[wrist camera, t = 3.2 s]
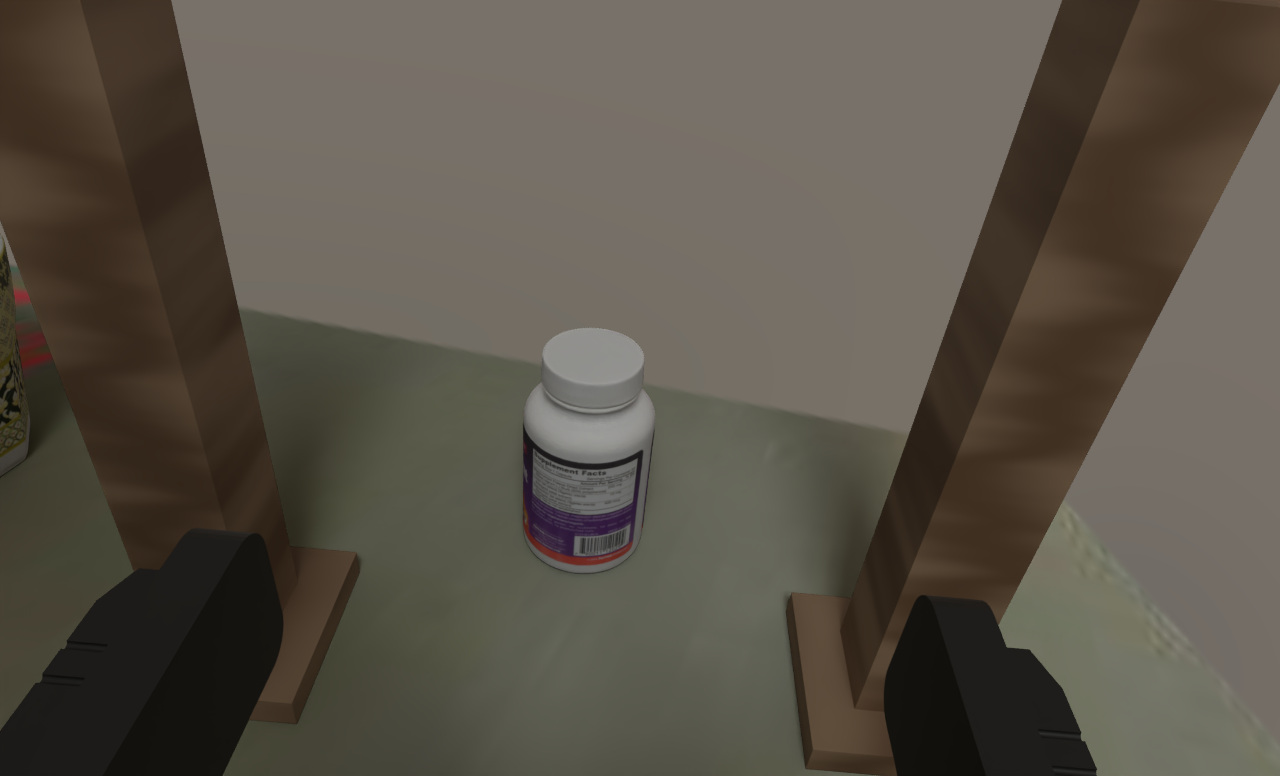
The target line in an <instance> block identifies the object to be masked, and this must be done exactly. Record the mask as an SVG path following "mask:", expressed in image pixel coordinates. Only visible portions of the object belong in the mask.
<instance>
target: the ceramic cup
mask: <svg viewBox="0 0 1280 776" xmlns="http://www.w3.org/2000/svg"><path fill="white" fill-rule="evenodd" d="M29 432H30V415H29V409H28V400H27V395H26V391H25V386H24V378H23V372H22V366H21V360H20V353H19V347H18V341H17V336H16V330H15V297H14V291H13V284H12V277H11V271H10V266H9V261H8V257H7V252H6V247H5V243H4V239H3V237H2V235H1V234H0V476H2V475H3V474H5V473H6V472H8V471H9V470H11V469H12V468H14V467H15V466H16V465H18V464H19V463H21V462H22V461H24V460H25V458H26V455H27V453H28V445H29Z"/></svg>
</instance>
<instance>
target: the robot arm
mask: <svg viewBox="0 0 1280 776" xmlns="http://www.w3.org/2000/svg"><path fill="white" fill-rule="evenodd" d="M283 625H284V621H283V613H282V608H281V604H280V600H279V596H278V592H277V588H276V584H275V580H274V576H273V572H272V568H271V564H270V560H269V555H268V551H267V547H266V544H265V541H264V539H263V537H262V536H261V535H260V534H258V533H249V532H238V531H227V530H216V529H204V528H194V529H191V530H189V531H188V532H187V533H186V534H184V535H183V537H182V538H181V539H180V540H179V542H178V543H177V545H176V546H175V548H174V549H173V551H172V552H171V554H170V555H169V556H168V558H167V559H166V561H165V562H164V564H163V565H162V567H161V568H160V570H154V569H143V568H139V569H137V570H136V571H135V572H133V573H132V574H131V575H130V576H128V577H127V578H126V579H124V580H123V581H122V582H120V583H119V584H118V585H116V586H115V587H114V588H112V589H111V590H110V591H109V592H107V593H106V594H105V595H103V596H102V597H101V598H99V599H98V600H97V601H96V602H95V603H94V605H93V606H92V607H91V609H90V610H89V611H88V613H87V614H86V615H85V617H84V618H83V620H82V621H81V622H80V624H79V625H78V626H77V628H76V629H75V630H74V632H73V633H72V634H71V636H70V637H69V639H68V640H67V646H66V648H65V649H60V651H59V652H58V653H57V655H56V656H55V657H54V659H53V660H52V662H51V663H50V664H49V666H48V667H47V668H46V670H45V671H44V672H43V674H42V675H43V677H42V680H41V682H40V683H35V685H34V686H33V687H32V689H31V690H30V691H29V693H28V694H27V695H26V697H25V698H24V699H23V701H22V702H21V704H20V705H19V706H18V708H17V709H16V710H15V712H14V713H13V714H12V716H11V717H10V718H9V720H8V721H7V723H6V724H5V725H4V727H3V728H2V729H1V731H0V776H222V775H223V773H224V771H225V769H226V767H227V765H228V763H229V761H230V758H231V756H232V754H233V752H234V750H235V748H236V746H237V744H238V742H239V740H240V737H241V735H242V733H243V731H244V729H245V727H246V725H247V723H248V721H249V719H250V716H251V714H252V712H253V710H254V708H255V706H256V704H257V702H258V700H259V698H260V695H261V693H262V691H263V689H264V687H265V685H266V683H267V681H268V679H269V676H270V674H271V672H272V670H273V668H274V666H275V663H276V661H277V658H278V655H279V651H280V648H281V643H282V637H283ZM884 713H885V720H886V726H887V730H888V735H889V739H890V744H891V749H892V753H893V758H894V762H895V767H896V771H897V776H1096V770H1097V768H1096V766H1095V764H1094V761H1093V759H1092V757H1091V754H1090V752H1089V750H1088V747H1087V745H1086V743H1085V741H1082V740H1081V731H1080V729H1079V726H1078V724H1077V722H1076V719H1075V717H1074V715H1073V712H1072V710H1071V708H1070V705H1069V703H1068V701H1067V698H1066V696H1065V693H1064V691H1063V689H1062V688H1061V686H1060V685H1059V684H1058V683H1057V682H1056V681H1055V679H1054V678H1053V677H1052V676H1051V675H1050V674H1049V672H1048V671H1047V670H1046V669H1045V668H1044V666H1043V665H1042V664H1041V663H1040V662H1039V661H1038V659H1037V658H1036V657H1035V656H1034V655H1033V654H1032V652H1031V651H1030V650H1028V649H1017V648H1007V647H1006V645H1005V642H1004V639H1003V637H1002V634H1001V631H1000V629H999V626H998V624H997V621H996V618H995V616H994V613H993V611H992V609H991V608H990V606H989V605H988V604H987V603H986V602H985V601H983V600H974V599H963V598H952V597H941V596H930V595H921V596H919V597H918V598H917V599H916V600H915V602H914V604H913V607H912V609H911V612H910V614H909V617H908V619H907V622H906V624H905V627H904V629H903V632H902V634H901V637H900V639H899V642H898V644H897V647H896V649H895V652H894V654H893V657H892V659H891V662H890V664H889V667H888V670H887V673H886V677H885V684H884Z"/></svg>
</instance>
